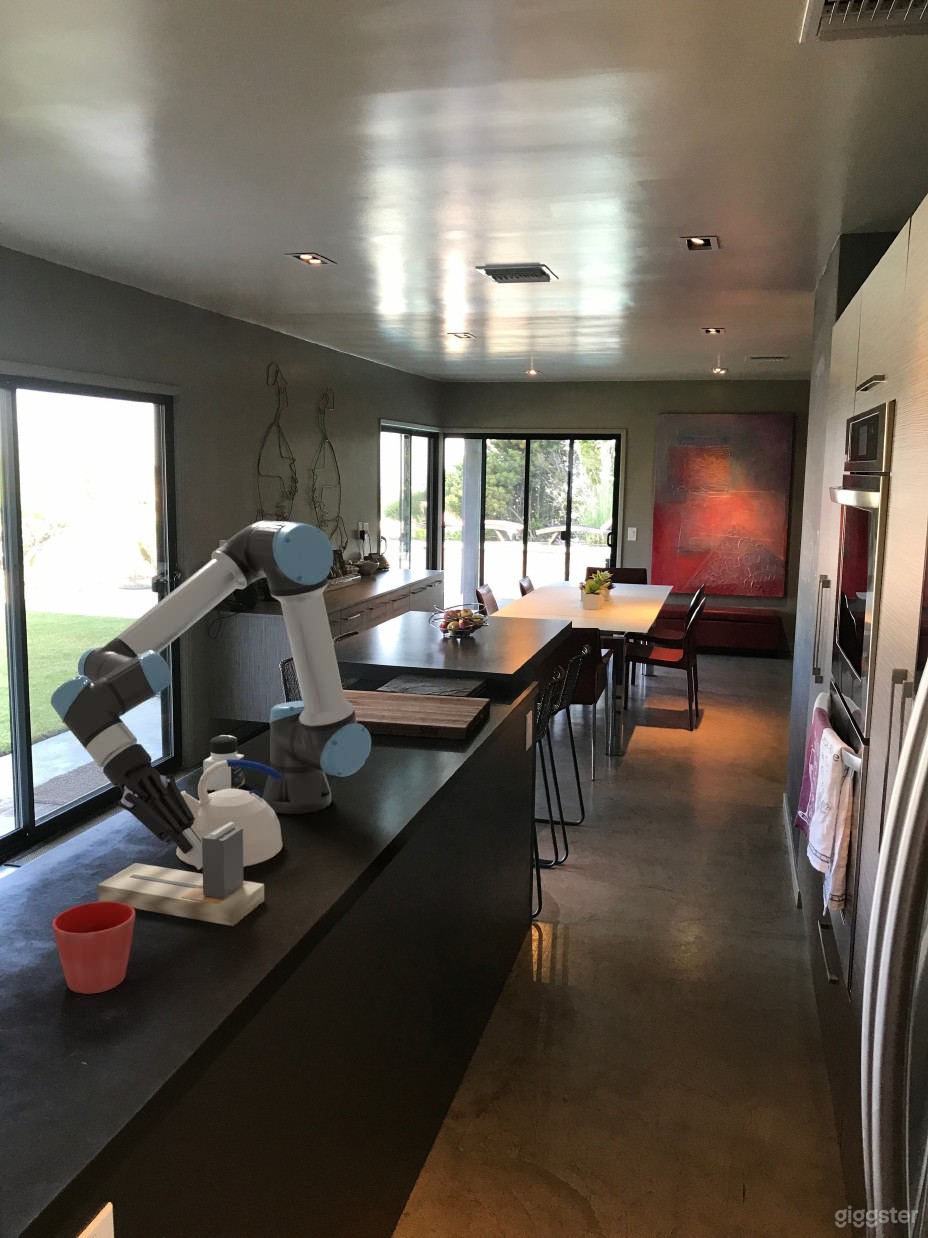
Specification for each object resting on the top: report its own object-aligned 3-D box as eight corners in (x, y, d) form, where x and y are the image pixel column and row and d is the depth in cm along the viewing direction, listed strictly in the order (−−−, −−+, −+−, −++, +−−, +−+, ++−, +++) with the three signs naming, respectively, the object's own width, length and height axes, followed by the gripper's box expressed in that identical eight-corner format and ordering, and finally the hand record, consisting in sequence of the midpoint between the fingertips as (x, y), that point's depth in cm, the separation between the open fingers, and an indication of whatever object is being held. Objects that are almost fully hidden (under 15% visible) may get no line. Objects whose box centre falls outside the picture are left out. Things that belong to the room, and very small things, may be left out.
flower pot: (69, 962, 139) (66, 900, 138) (144, 961, 140) (143, 899, 139) (43, 1001, 129) (40, 934, 128) (125, 999, 130) (123, 933, 129)
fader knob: (203, 895, 155) (202, 833, 154) (222, 881, 161) (221, 820, 159) (224, 899, 154) (223, 836, 153) (243, 884, 160) (242, 823, 158)
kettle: (168, 837, 189) (166, 750, 187) (271, 825, 197) (271, 741, 195) (181, 876, 171) (178, 780, 168) (293, 861, 179) (293, 769, 176)
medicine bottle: (231, 792, 217) (231, 742, 215) (203, 790, 218) (202, 740, 217) (245, 783, 224) (244, 734, 222) (217, 781, 225) (216, 732, 223)
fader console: (98, 901, 160) (97, 884, 159) (135, 878, 169) (135, 862, 169) (233, 926, 152) (233, 908, 151) (264, 900, 161) (264, 883, 161)
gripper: (131, 759, 168) (213, 862, 165) (81, 779, 155) (169, 891, 153) (156, 733, 165) (240, 837, 163) (107, 752, 153) (197, 865, 150)
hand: (205, 863), depth 158 cm, fingers closed
